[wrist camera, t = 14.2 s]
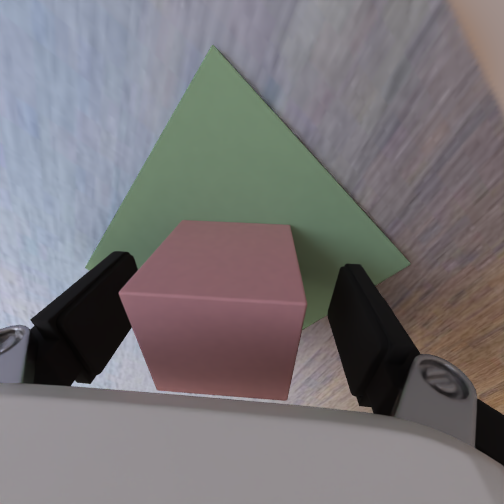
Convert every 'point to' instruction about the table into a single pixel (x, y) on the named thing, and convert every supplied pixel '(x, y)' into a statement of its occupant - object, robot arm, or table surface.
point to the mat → (246, 187)
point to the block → (220, 309)
